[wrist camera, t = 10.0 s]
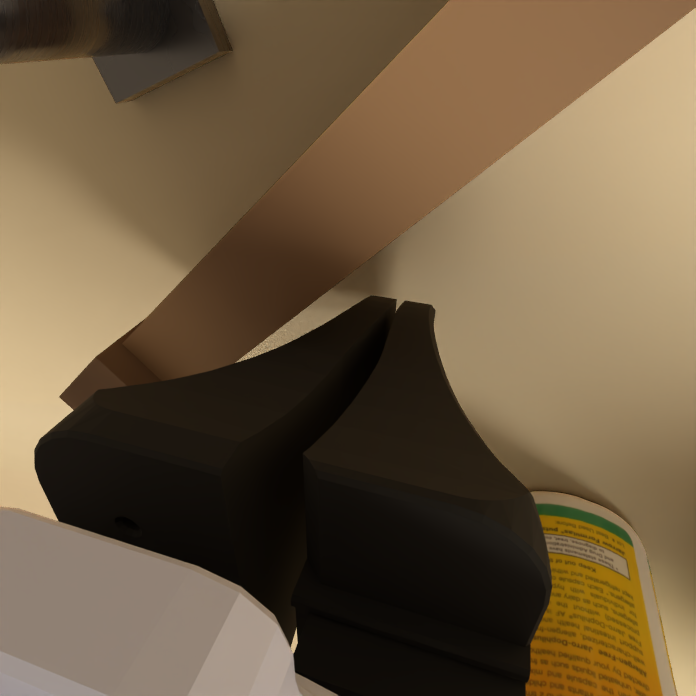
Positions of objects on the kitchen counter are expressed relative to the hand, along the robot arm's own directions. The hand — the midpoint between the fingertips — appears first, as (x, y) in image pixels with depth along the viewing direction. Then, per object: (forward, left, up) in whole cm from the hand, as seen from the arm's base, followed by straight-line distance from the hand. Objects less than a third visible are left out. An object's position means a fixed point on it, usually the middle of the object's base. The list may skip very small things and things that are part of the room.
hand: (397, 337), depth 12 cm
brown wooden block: (+4, 0, -2) cm, 4 cm away
